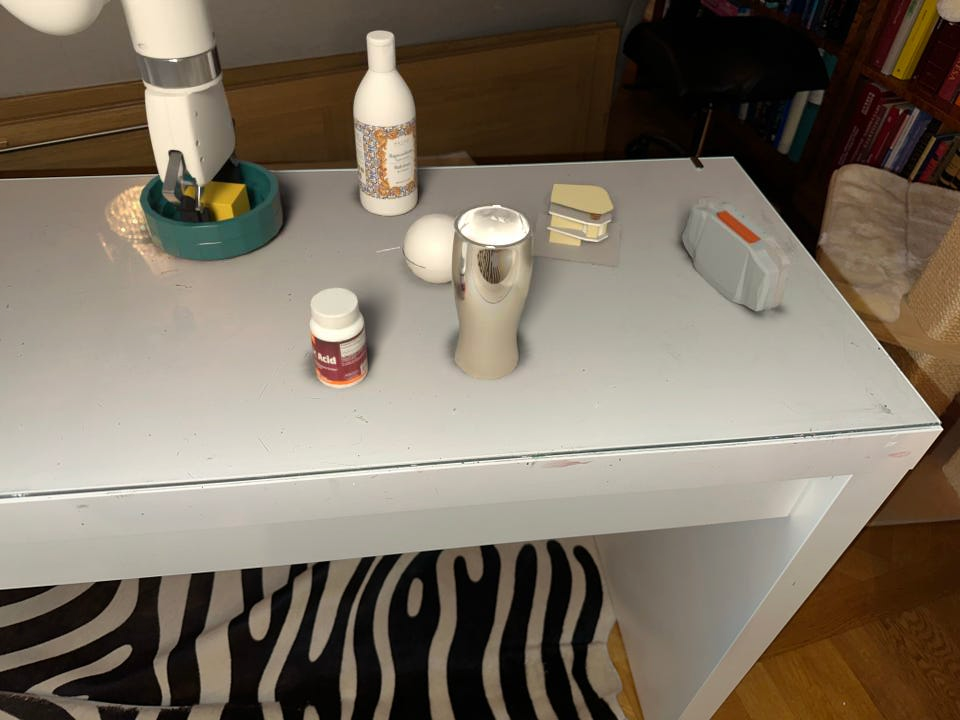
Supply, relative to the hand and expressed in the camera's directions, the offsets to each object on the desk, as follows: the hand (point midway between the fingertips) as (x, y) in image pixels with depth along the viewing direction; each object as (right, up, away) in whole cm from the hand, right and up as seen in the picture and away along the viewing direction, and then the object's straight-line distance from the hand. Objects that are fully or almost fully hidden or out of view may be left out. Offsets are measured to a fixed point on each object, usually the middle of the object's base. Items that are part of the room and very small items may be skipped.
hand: (216, 217), depth 85 cm
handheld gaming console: (+56, -8, -3) cm, 57 cm away
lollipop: (+24, -7, -4) cm, 26 cm away
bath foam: (+19, +3, +7) cm, 20 cm away
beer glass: (+31, -16, -13) cm, 37 cm away
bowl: (0, -1, +1) cm, 1 cm away
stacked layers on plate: (+41, -2, +2) cm, 41 cm away
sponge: (0, -1, +1) cm, 1 cm away
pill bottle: (+17, -18, -16) cm, 29 cm away
